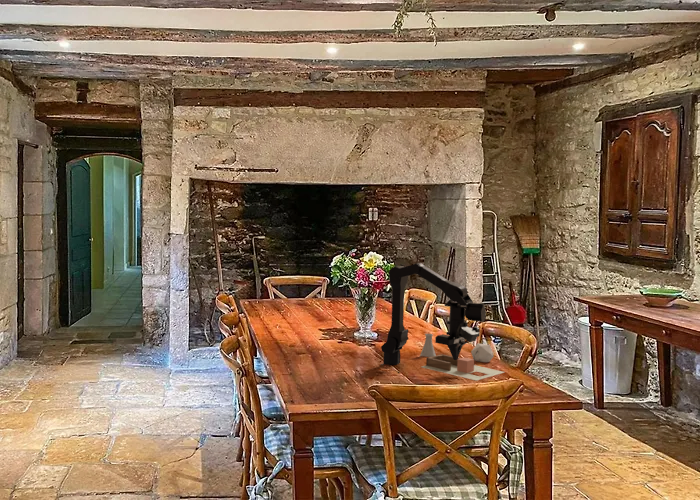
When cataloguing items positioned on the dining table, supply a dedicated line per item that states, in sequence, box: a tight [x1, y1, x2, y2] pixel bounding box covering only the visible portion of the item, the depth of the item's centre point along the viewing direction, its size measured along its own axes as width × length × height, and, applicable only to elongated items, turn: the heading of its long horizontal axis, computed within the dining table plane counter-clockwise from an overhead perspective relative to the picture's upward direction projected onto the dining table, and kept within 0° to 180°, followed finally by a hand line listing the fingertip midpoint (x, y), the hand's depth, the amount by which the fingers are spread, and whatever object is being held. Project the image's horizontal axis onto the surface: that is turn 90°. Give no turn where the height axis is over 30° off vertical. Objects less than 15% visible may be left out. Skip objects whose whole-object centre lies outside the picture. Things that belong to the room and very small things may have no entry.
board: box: [421, 364, 505, 382], centre depth 269 cm, size 19×26×1 cm
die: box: [470, 343, 495, 363], centre depth 285 cm, size 8×9×10 cm
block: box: [457, 357, 475, 374], centre depth 266 cm, size 4×4×4 cm
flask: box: [419, 333, 437, 358], centre depth 292 cm, size 7×7×10 cm
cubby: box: [425, 353, 461, 371], centre depth 273 cm, size 10×11×3 cm
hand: (455, 359), depth 263 cm, fingers closed
